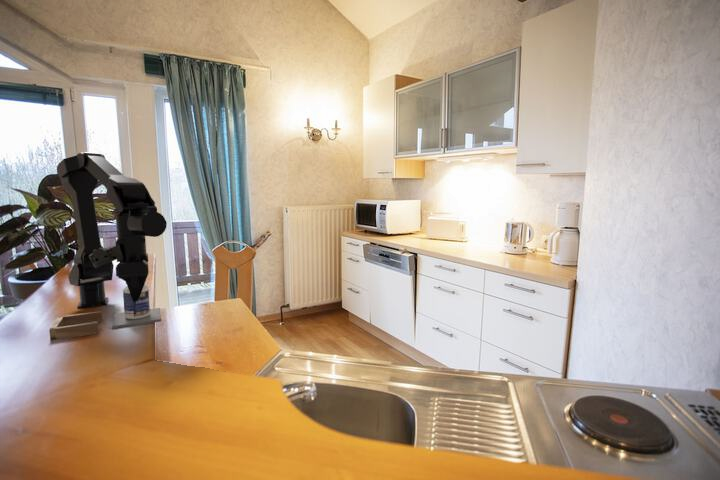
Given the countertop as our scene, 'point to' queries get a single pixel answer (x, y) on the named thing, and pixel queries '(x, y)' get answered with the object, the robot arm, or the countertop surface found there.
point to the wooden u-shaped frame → (75, 325)
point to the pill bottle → (136, 304)
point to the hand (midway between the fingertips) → (136, 296)
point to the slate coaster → (124, 322)
